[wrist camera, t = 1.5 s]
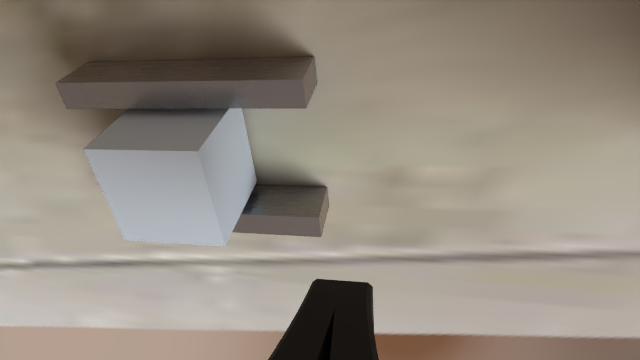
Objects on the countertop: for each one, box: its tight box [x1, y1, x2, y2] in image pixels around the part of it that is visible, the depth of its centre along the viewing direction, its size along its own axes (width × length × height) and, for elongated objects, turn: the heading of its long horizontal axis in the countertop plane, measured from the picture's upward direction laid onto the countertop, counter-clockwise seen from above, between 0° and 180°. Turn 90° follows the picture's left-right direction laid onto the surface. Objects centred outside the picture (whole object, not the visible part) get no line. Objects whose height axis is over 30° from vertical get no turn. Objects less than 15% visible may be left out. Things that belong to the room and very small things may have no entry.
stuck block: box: [83, 108, 257, 246], centre depth 17 cm, size 4×4×4 cm
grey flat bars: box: [55, 57, 329, 237], centre depth 18 cm, size 9×7×2 cm
